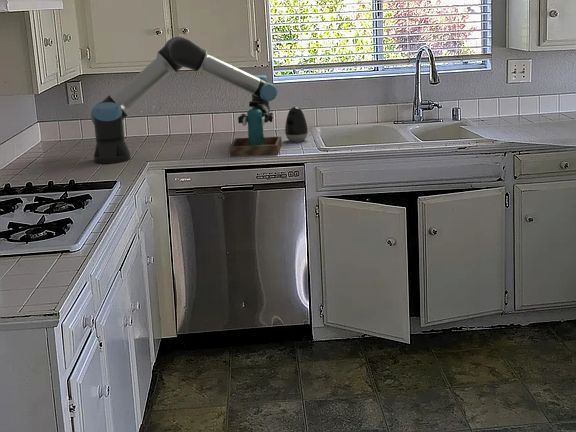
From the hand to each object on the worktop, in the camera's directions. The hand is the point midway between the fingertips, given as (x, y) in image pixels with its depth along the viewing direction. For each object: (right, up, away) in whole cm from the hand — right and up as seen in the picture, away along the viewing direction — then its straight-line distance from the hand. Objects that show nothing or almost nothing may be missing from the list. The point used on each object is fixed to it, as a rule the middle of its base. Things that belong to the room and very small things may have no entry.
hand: (253, 122), depth 357 cm
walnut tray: (+1, -11, +8) cm, 14 cm away
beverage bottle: (+1, -10, +8) cm, 13 cm away
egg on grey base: (+18, -5, +26) cm, 32 cm away
